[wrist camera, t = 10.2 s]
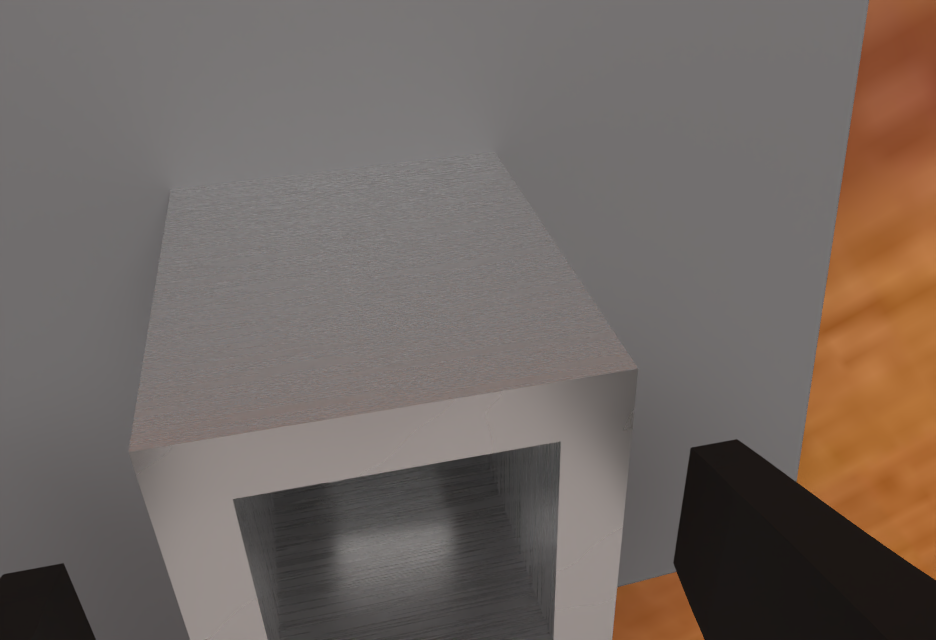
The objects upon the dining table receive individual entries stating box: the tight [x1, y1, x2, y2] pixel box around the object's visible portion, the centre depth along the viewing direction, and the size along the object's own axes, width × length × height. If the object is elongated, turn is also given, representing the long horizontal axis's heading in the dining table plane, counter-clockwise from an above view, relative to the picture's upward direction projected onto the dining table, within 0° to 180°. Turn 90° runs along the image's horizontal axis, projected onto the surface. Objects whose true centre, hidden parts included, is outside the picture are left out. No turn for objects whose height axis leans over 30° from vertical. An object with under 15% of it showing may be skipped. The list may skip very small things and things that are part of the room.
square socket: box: [129, 152, 638, 640], centre depth 12 cm, size 5×5×6 cm
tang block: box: [0, 0, 869, 640], centre depth 14 cm, size 18×18×4 cm
